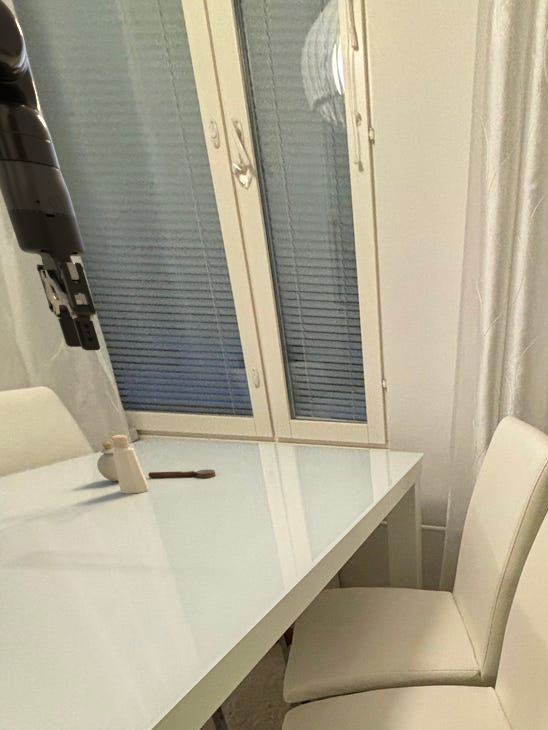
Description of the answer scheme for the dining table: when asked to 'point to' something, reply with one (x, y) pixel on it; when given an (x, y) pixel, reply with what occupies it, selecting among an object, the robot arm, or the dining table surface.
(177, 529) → the dining table surface
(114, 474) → the ornament
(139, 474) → the salt shaker
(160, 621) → the dining table surface
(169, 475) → the walnut spoon
